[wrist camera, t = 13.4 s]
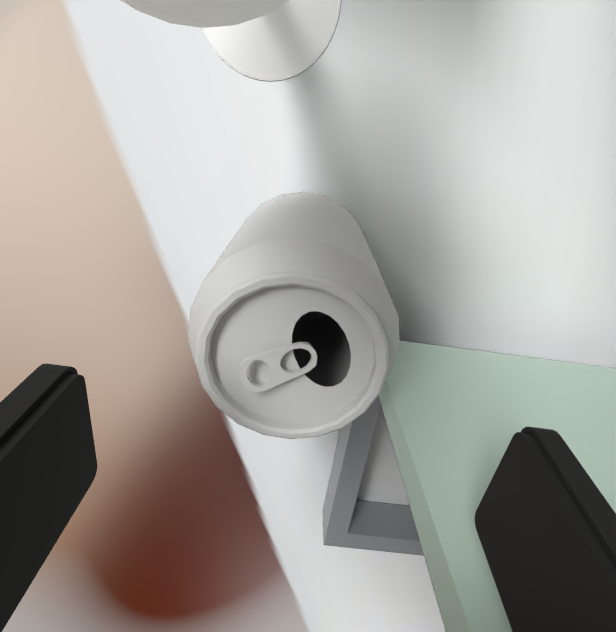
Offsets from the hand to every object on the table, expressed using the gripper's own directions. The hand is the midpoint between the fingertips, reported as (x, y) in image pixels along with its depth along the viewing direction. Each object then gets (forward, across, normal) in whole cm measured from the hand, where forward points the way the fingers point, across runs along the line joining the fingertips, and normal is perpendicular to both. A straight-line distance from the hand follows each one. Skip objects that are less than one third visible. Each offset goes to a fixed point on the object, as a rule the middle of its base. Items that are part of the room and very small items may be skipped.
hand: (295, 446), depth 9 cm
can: (+16, 0, +1) cm, 16 cm away
